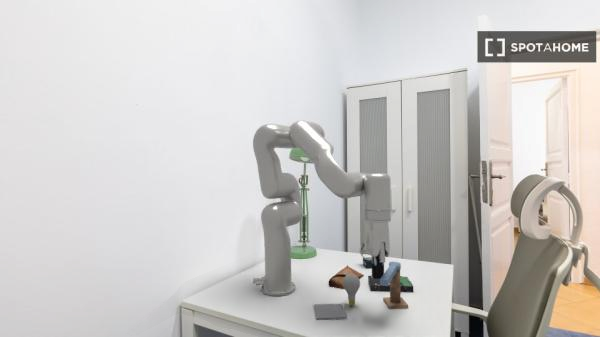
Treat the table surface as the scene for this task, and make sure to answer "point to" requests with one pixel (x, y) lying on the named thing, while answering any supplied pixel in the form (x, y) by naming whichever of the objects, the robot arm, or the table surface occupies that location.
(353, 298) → the light bulb
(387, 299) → the post
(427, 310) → the table surface
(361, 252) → the watch
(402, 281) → the disk drive
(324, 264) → the table surface
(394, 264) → the latch arm
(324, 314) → the mat
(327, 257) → the table surface
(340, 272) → the sunglasses case
